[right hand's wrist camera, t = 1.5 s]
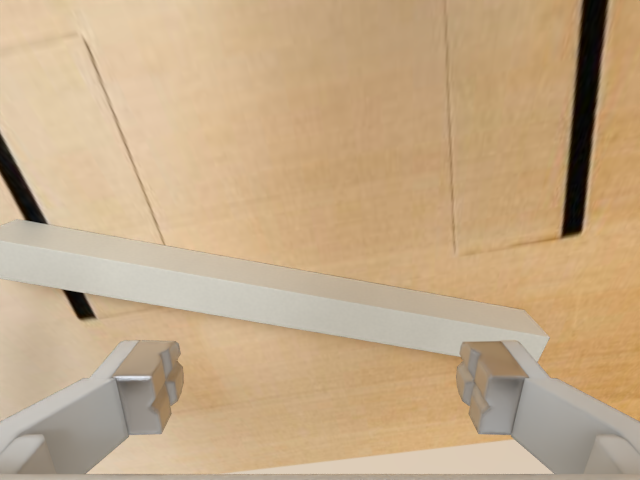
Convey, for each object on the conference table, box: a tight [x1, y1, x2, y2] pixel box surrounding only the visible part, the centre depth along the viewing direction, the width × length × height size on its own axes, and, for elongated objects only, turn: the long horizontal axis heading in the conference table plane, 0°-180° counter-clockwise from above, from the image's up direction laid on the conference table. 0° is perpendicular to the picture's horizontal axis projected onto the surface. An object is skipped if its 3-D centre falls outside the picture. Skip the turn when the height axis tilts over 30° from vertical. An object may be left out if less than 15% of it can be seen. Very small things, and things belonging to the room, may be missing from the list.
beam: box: [0, 219, 550, 362], centre depth 45 cm, size 65×5×6 cm, turn 79°
